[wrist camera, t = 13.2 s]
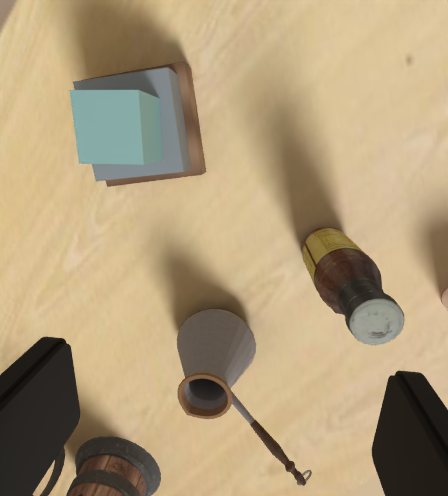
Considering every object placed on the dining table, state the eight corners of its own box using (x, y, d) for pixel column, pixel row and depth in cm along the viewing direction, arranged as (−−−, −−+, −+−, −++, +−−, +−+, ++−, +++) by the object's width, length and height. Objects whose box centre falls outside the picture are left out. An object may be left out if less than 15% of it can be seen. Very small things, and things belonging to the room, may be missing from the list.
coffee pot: (167, 335, 50) (130, 412, 36) (212, 285, 46) (190, 349, 32) (271, 412, 53) (274, 512, 38) (321, 370, 49) (345, 463, 35)
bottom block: (98, 85, 40) (81, 80, 36) (191, 69, 38) (184, 61, 34) (120, 182, 44) (107, 186, 40) (206, 171, 42) (201, 174, 38)
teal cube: (102, 98, 33) (69, 90, 27) (159, 98, 32) (138, 89, 26) (108, 159, 35) (79, 163, 29) (162, 160, 34) (143, 164, 28)
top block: (92, 87, 36) (73, 81, 33) (178, 75, 35) (168, 67, 31) (111, 177, 39) (96, 181, 36) (191, 168, 38) (183, 171, 34)
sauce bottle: (334, 276, 44) (388, 377, 25) (292, 258, 44) (316, 346, 25) (358, 234, 42) (438, 310, 23) (315, 215, 42) (359, 276, 23)
